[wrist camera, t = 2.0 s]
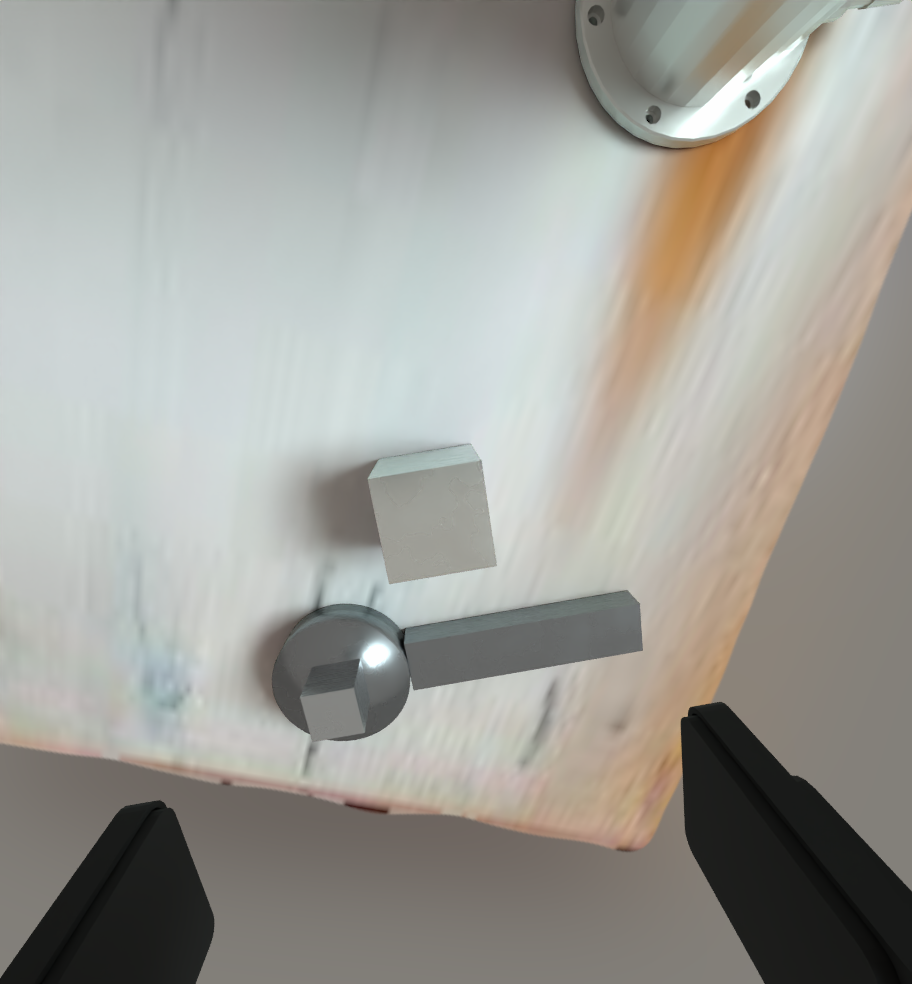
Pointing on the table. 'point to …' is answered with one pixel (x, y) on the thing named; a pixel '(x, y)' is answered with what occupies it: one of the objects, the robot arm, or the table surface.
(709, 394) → the table surface
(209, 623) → the table surface
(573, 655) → the ratchet
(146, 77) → the table surface
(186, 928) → the robot arm
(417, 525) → the brushed grey cube
